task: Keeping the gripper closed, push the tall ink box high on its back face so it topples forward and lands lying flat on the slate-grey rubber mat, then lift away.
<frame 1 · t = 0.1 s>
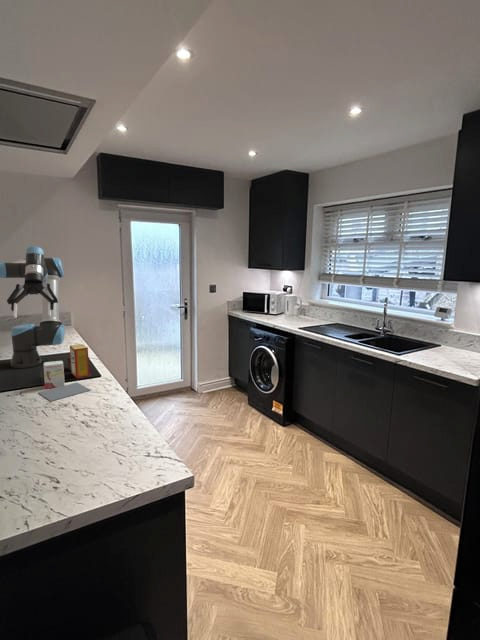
hand: (32, 316, 159), 36 cm above the worktop, tool tilted 35°, fingers open, 13 cm apart
box: (76, 369, 199), on the worktop
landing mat: (64, 391, 166), on the worktop
ink box: (54, 386, 173), on the worktop
baking soda box: (80, 375, 189), on the worktop
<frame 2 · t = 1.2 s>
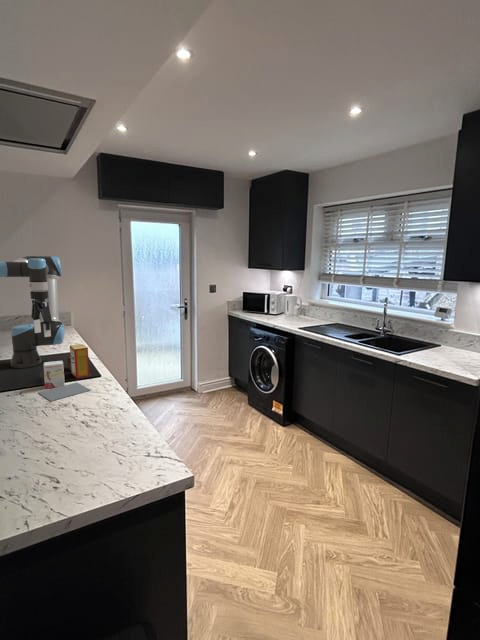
hand: (42, 334, 175), 24 cm above the worktop, tool pointing down, fingers open, 11 cm apart
nothing on the worktop moved.
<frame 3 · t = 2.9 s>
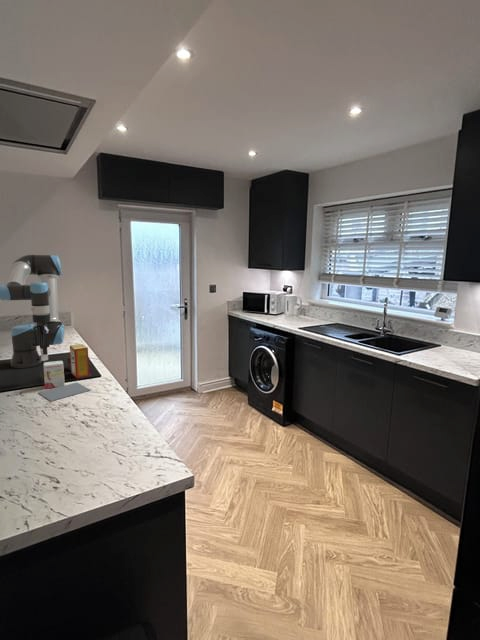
hand: (44, 360, 177), 11 cm above the worktop, tool pointing down, fingers closed
nothing on the worktop moved.
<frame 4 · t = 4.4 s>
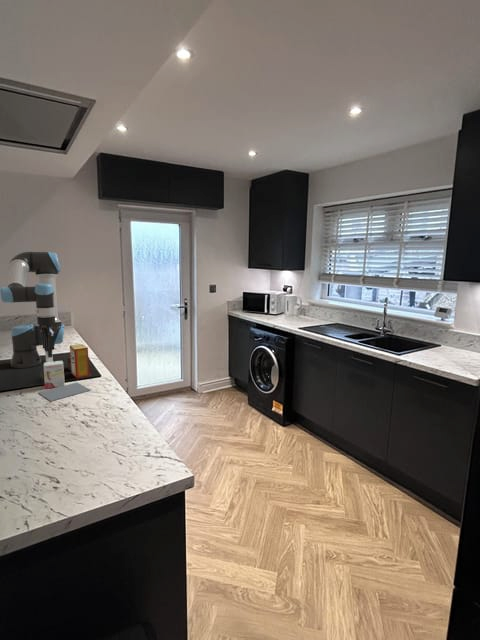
hand: (49, 363, 173), 11 cm above the worktop, tool pointing down, fingers closed
ink box: (54, 386, 173), on the worktop, touching gripper
everything else where it was.
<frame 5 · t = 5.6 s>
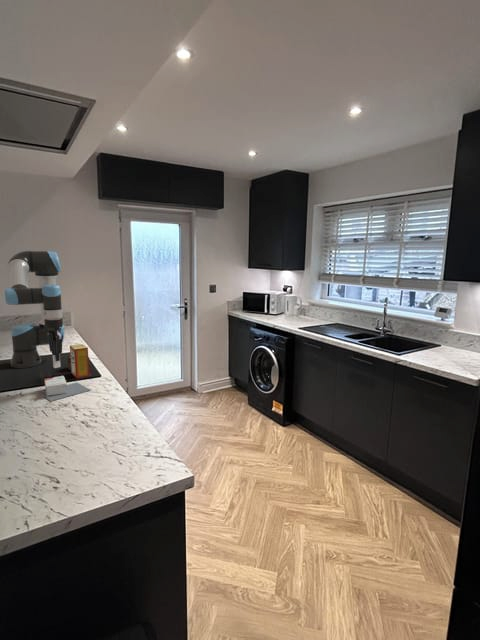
hand: (57, 367, 168), 11 cm above the worktop, tool pointing down, fingers closed
ink box: (54, 381, 171), point 3 cm above the worktop, touching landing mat
everything else where it was.
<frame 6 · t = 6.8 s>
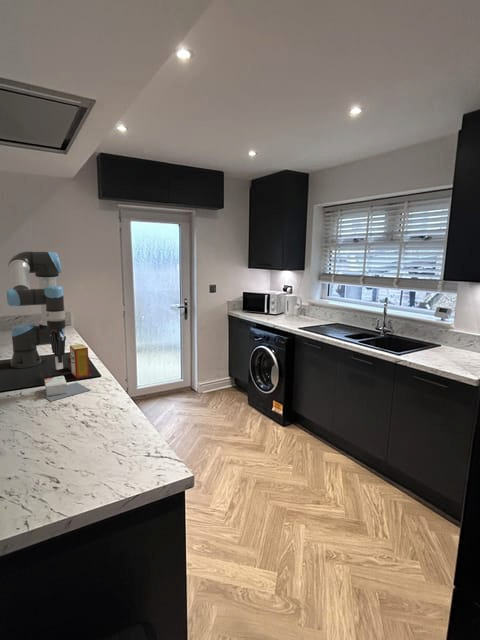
hand: (59, 368, 166), 10 cm above the worktop, tool pointing down, fingers closed
nothing on the worktop moved.
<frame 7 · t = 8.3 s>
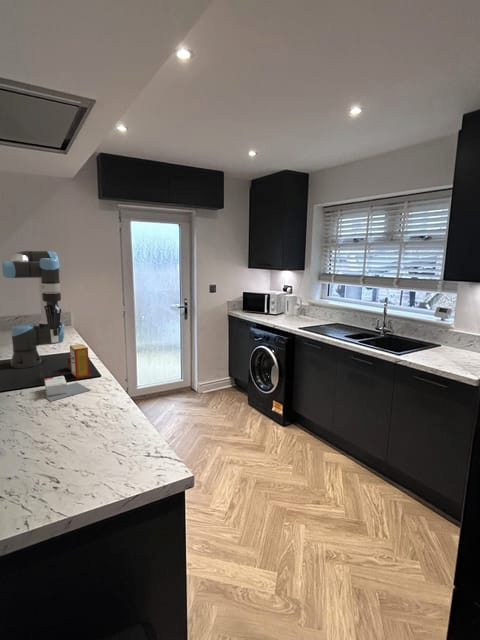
hand: (55, 341, 166), 23 cm above the worktop, tool pointing down, fingers closed
nothing on the worktop moved.
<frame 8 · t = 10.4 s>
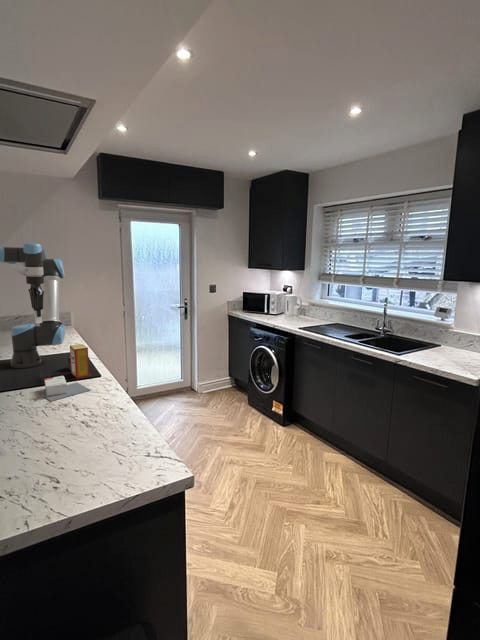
hand: (38, 323, 176), 29 cm above the worktop, tool pointing down, fingers closed
nothing on the worktop moved.
at the end: ink box tilted 90°; ink box touching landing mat; ink box inside the target area (6.6 cm from its centre), point 2.9 cm above the worktop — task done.
